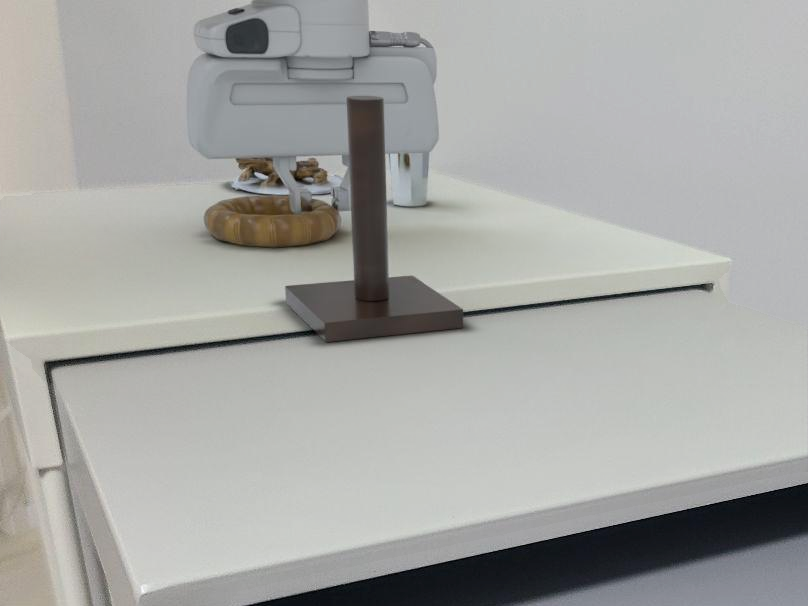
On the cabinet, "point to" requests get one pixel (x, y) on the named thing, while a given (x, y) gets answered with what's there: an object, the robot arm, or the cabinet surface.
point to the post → (370, 255)
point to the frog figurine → (267, 180)
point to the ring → (270, 221)
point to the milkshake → (409, 178)
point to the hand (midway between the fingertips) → (321, 211)
